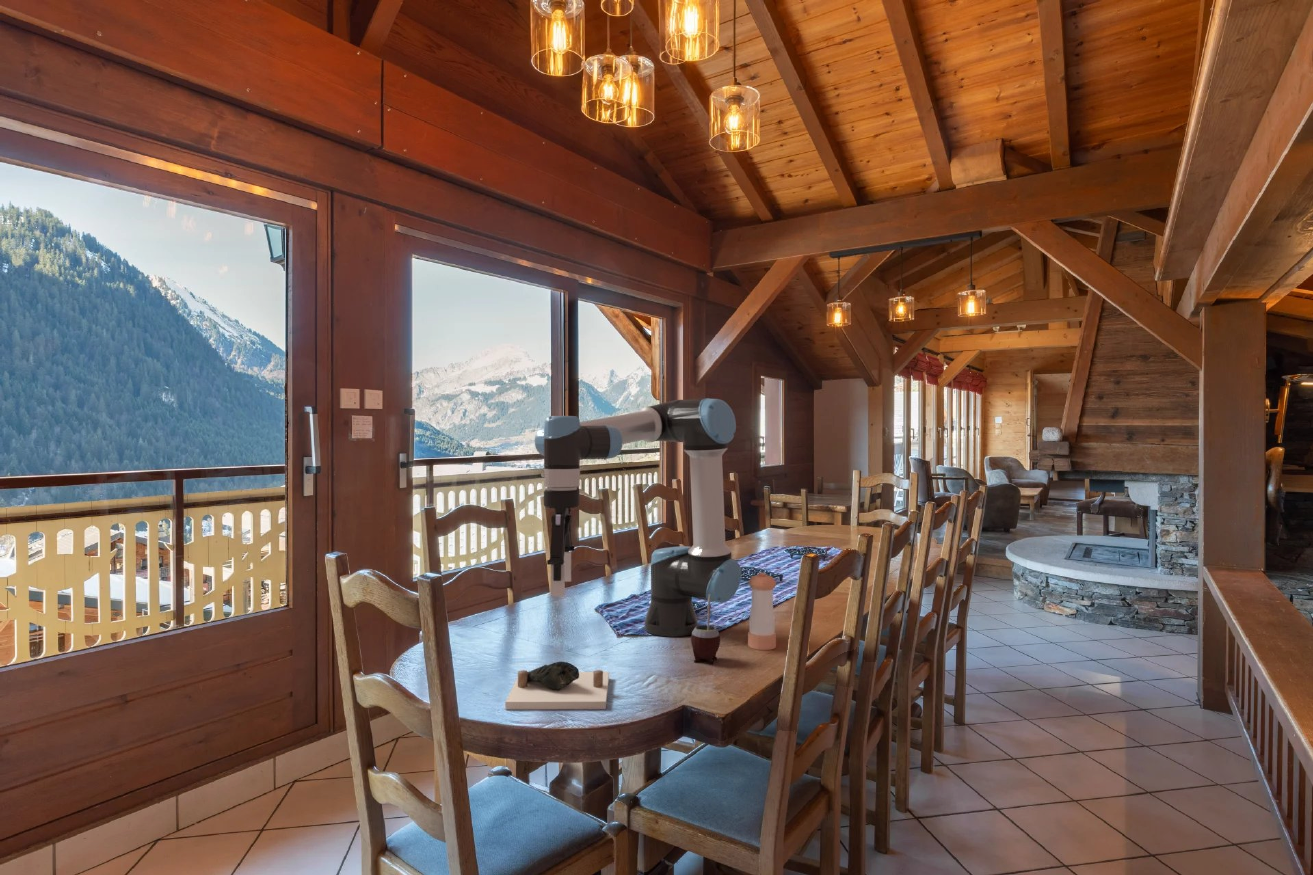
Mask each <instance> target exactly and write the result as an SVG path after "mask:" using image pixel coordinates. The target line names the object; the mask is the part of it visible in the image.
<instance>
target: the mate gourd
mask: <svg viewBox="0 0 1313 875" xmlns="http://www.w3.org/2000/svg"><path fill="white" fill-rule="evenodd" d="M710 599H711V594H709V597H708V601H707V606H706V607H707V623H706V624H702V625H701V624H700V625H698V626H696V627H695V628H694V630H693V632H692V634H690V635H691V636H690V644H691V647H692V652H693V656H694V659H693V663H695V664H697V663H702V662H705V663H706V664H709V665H710V666H711V665H714V661H715V660H717V658H718V657H717V656H716V655H717V653H718V651H719V648H720V645H721V636H720V633H719V631H718V629H717V627H715V626H713V625H710V618H711V616H710V615H711V607H712V606H711V602H710Z"/></svg>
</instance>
